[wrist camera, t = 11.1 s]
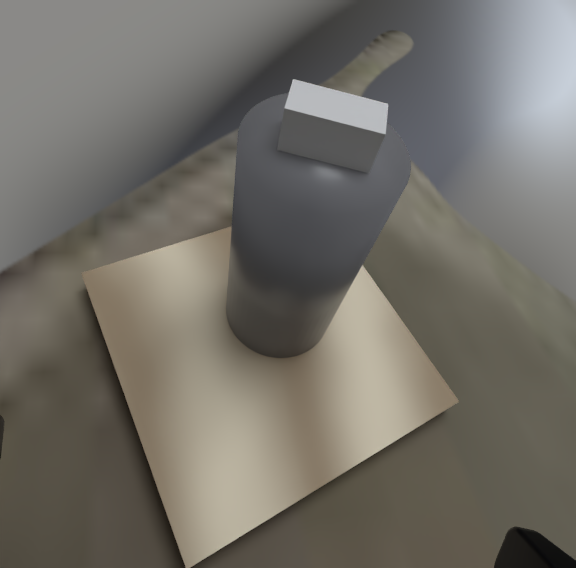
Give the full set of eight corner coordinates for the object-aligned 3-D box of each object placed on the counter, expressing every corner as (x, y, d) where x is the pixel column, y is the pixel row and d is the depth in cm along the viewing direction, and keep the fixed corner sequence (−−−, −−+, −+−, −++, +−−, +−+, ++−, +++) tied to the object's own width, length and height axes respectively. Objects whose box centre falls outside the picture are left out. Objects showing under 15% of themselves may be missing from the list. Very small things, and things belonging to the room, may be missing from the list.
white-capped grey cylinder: (321, 369, 17) (432, 198, 9) (213, 343, 17) (217, 143, 8) (334, 279, 20) (430, 77, 11) (240, 256, 20) (264, 33, 11)
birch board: (188, 567, 14) (186, 569, 13) (88, 287, 19) (81, 273, 18) (445, 409, 18) (459, 401, 17) (311, 214, 23) (316, 200, 22)
